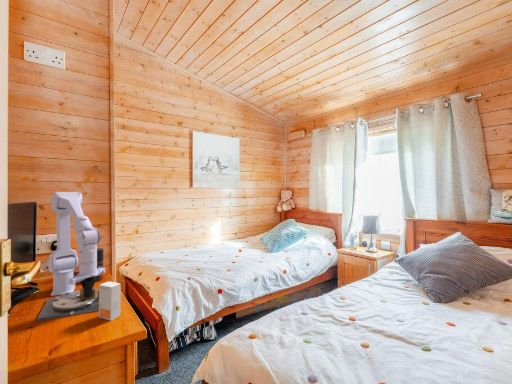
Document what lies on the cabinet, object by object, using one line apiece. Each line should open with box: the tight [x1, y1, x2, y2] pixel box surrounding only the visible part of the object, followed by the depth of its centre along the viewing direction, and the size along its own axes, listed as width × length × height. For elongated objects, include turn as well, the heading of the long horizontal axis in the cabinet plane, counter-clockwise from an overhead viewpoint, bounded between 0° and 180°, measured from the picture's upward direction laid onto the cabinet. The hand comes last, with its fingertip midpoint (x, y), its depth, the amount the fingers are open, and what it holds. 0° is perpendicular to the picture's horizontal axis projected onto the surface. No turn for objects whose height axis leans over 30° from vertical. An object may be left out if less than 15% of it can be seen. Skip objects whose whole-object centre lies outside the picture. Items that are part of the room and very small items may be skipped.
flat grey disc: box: [53, 287, 99, 311], centre depth 105 cm, size 16×14×6 cm
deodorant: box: [94, 247, 104, 283], centre depth 133 cm, size 6×6×15 cm
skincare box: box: [98, 280, 122, 322], centre depth 97 cm, size 6×4×12 cm
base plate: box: [36, 290, 99, 322], centre depth 105 cm, size 19×20×1 cm
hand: (88, 296), depth 103 cm, fingers closed, pressing on flat grey disc
